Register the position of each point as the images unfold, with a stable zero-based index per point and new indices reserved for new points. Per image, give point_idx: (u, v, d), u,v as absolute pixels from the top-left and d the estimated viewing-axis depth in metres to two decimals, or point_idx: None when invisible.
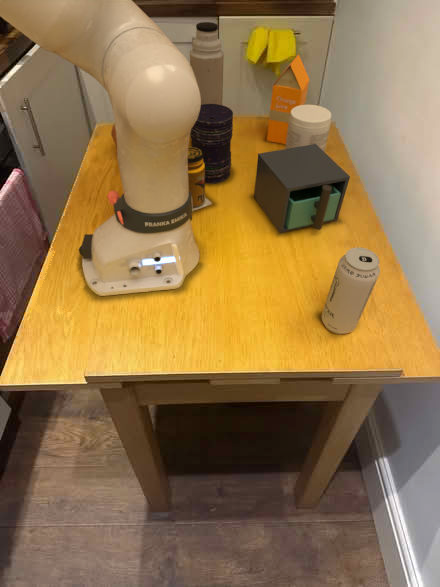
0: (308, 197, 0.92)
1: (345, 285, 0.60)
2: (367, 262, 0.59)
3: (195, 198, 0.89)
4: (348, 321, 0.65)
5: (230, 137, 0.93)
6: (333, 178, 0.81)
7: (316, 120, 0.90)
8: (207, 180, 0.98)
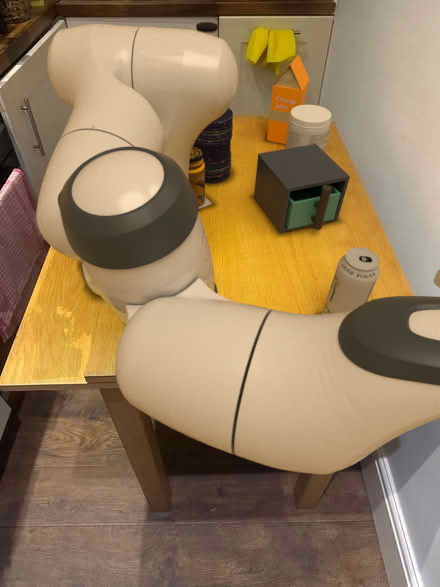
0: (308, 197, 0.92)
1: (345, 285, 0.60)
2: (367, 262, 0.58)
3: None
4: None
5: (230, 137, 0.93)
6: (333, 178, 0.81)
7: (316, 120, 0.90)
8: (207, 180, 0.98)
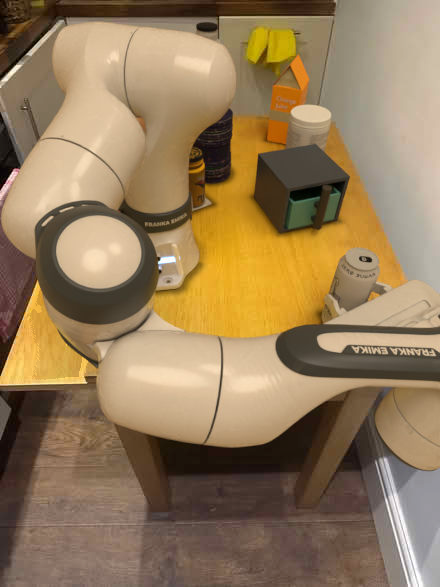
0: (308, 197, 0.92)
1: (345, 285, 0.60)
2: (367, 262, 0.58)
3: (195, 198, 0.89)
4: None
5: (230, 137, 0.93)
6: (333, 178, 0.81)
7: (316, 120, 0.90)
8: (207, 180, 0.98)
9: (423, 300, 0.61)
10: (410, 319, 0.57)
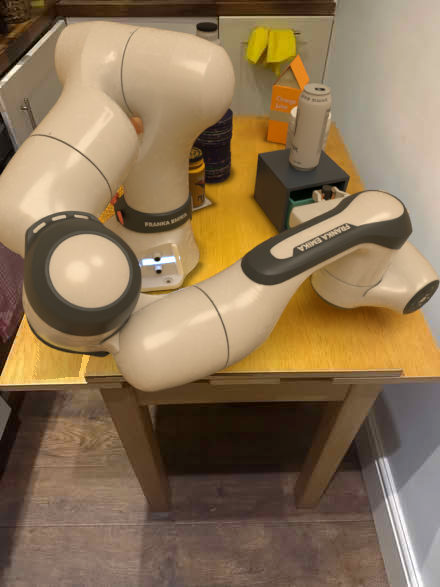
0: (308, 197, 0.92)
1: (304, 112, 0.74)
2: (321, 90, 0.72)
3: (194, 198, 0.89)
4: (309, 153, 0.79)
5: (230, 137, 0.93)
6: (333, 178, 0.81)
7: None
8: (207, 180, 0.98)
9: None
10: None
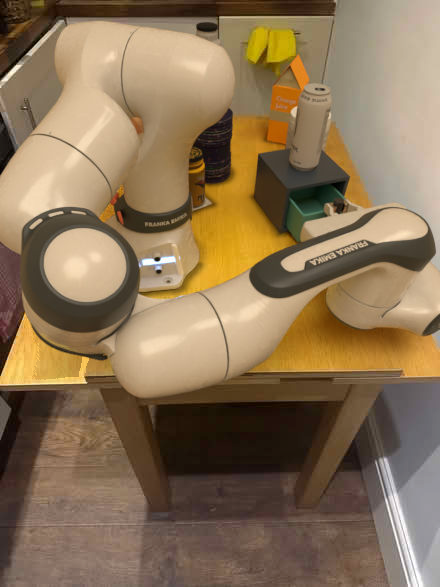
0: (318, 208, 0.90)
1: (304, 112, 0.74)
2: (321, 90, 0.72)
3: (195, 198, 0.89)
4: (309, 153, 0.79)
5: (230, 137, 0.93)
6: (333, 178, 0.81)
7: None
8: (207, 180, 0.98)
9: None
10: None
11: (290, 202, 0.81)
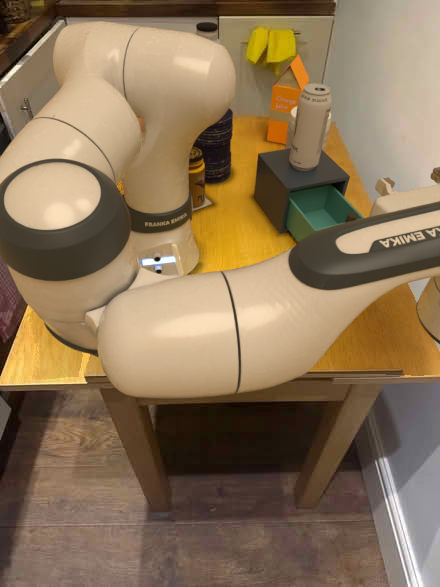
0: (328, 220, 0.87)
1: (303, 112, 0.74)
2: (321, 90, 0.72)
3: (194, 198, 0.89)
4: (309, 153, 0.79)
5: (230, 137, 0.93)
6: (333, 178, 0.81)
7: None
8: (207, 180, 0.98)
9: None
10: None
11: (301, 215, 0.78)
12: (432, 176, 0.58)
